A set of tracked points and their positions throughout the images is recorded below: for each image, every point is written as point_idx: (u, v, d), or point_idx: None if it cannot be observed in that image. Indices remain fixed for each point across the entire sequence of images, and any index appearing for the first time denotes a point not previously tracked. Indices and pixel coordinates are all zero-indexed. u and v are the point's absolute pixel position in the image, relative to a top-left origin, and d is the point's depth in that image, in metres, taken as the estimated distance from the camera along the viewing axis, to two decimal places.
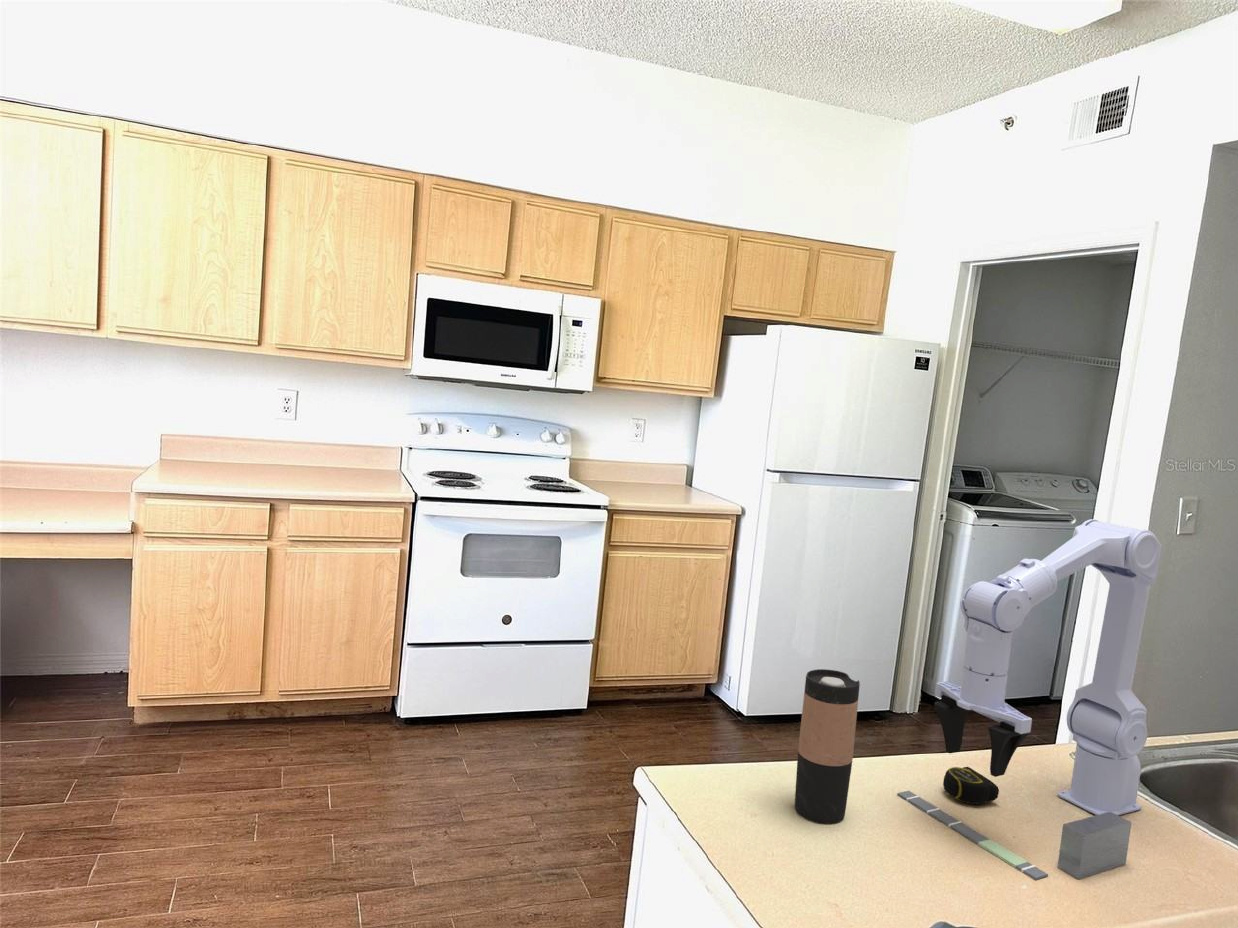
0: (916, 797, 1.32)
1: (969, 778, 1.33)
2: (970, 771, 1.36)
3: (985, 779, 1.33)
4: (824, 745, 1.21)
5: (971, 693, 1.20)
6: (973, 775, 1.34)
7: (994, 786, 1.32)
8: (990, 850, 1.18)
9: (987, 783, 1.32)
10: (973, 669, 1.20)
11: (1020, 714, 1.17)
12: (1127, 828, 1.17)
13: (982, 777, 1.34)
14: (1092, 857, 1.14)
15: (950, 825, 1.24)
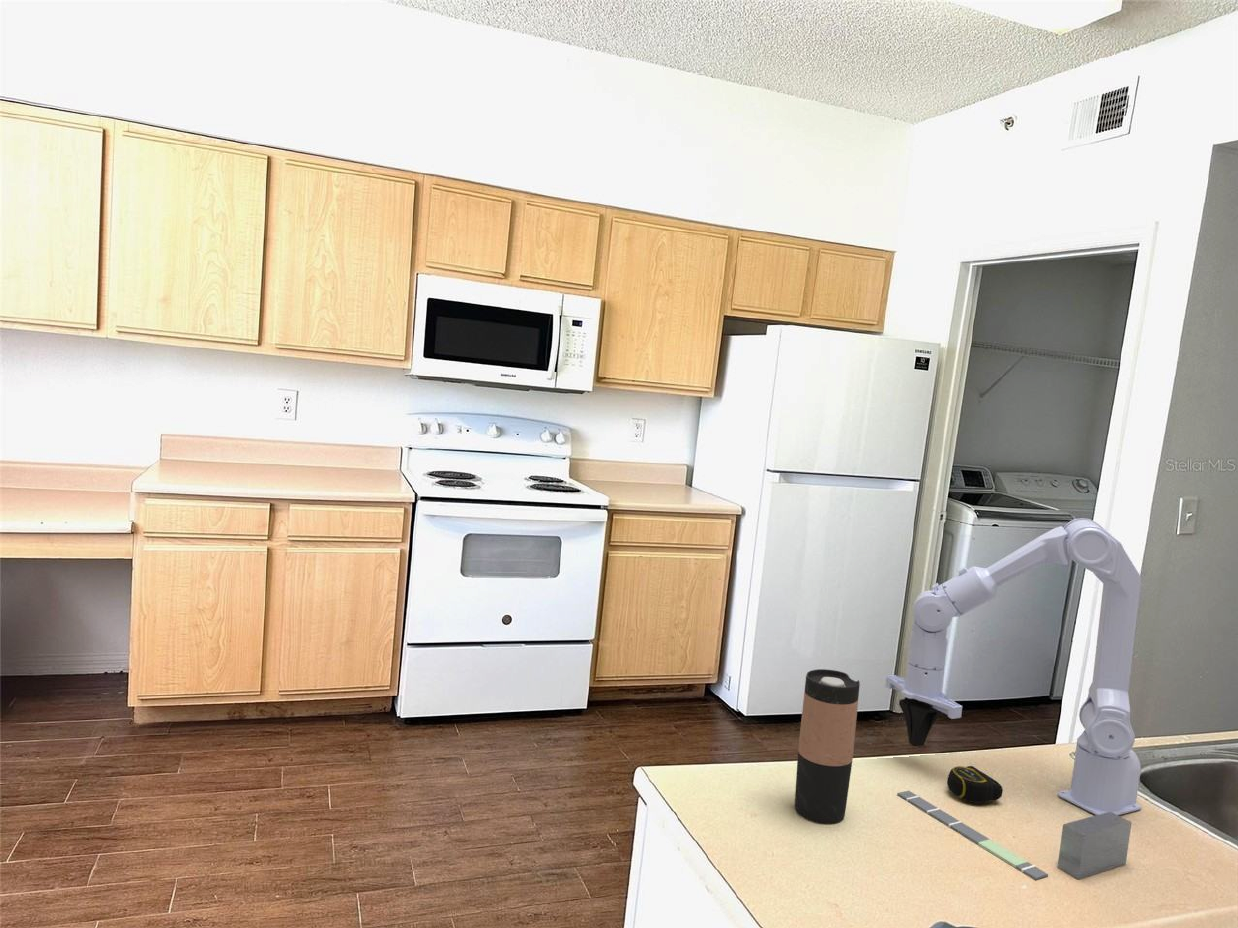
0: (916, 797, 1.32)
1: (972, 777, 1.33)
2: (974, 770, 1.36)
3: (989, 778, 1.33)
4: (824, 745, 1.21)
5: (913, 684, 1.41)
6: (977, 774, 1.35)
7: (998, 785, 1.32)
8: (990, 850, 1.18)
9: (991, 782, 1.32)
10: (908, 659, 1.43)
11: (953, 702, 1.39)
12: (1127, 828, 1.17)
13: (986, 776, 1.34)
14: (1092, 857, 1.14)
15: (950, 825, 1.24)
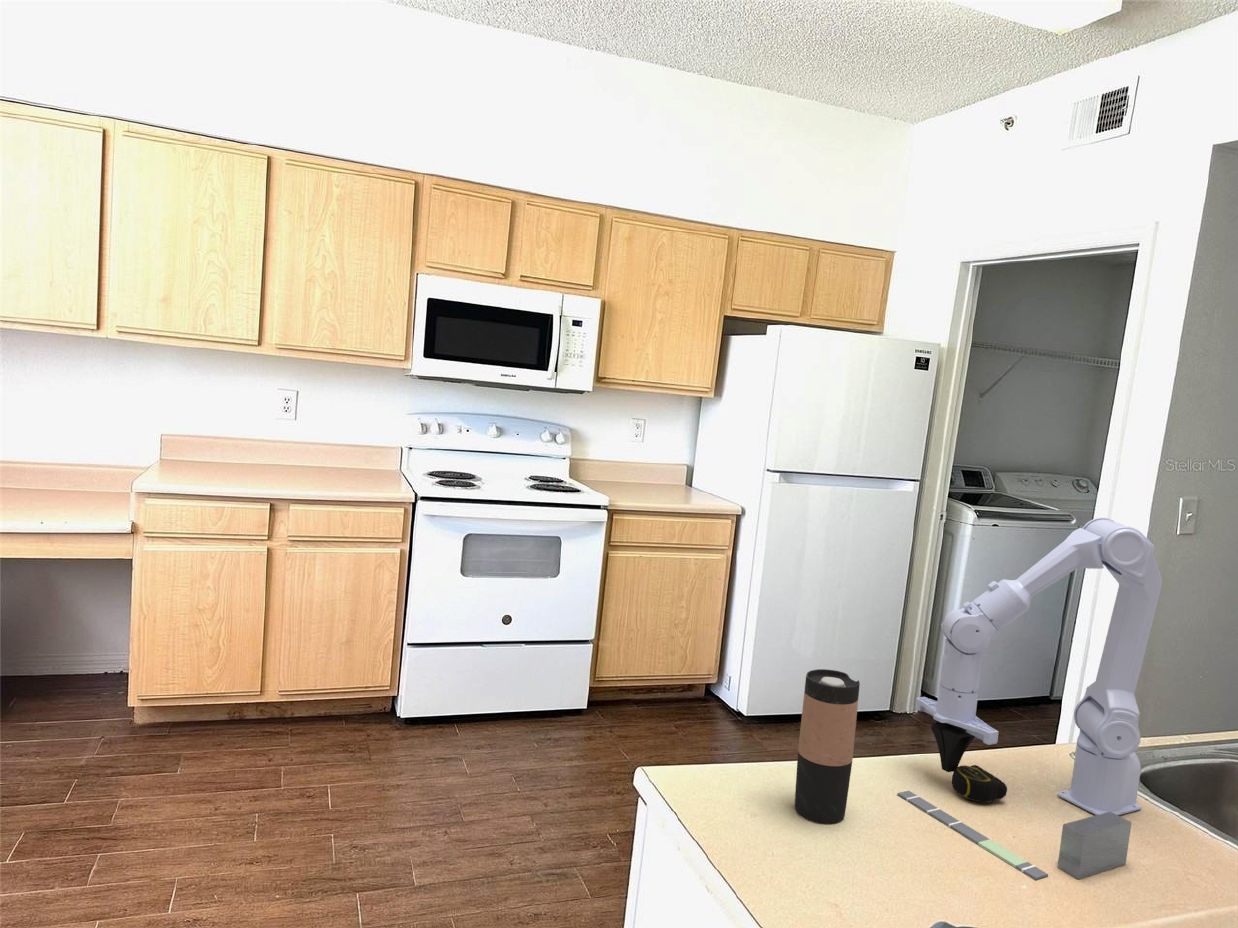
0: (916, 797, 1.32)
1: (977, 776, 1.34)
2: (978, 769, 1.36)
3: (993, 777, 1.34)
4: (824, 745, 1.21)
5: (946, 708, 1.35)
6: (981, 773, 1.35)
7: (1002, 784, 1.33)
8: (990, 850, 1.18)
9: (995, 781, 1.33)
10: (941, 683, 1.36)
11: (988, 727, 1.33)
12: (1127, 828, 1.17)
13: (990, 775, 1.34)
14: (1092, 857, 1.14)
15: (950, 825, 1.24)
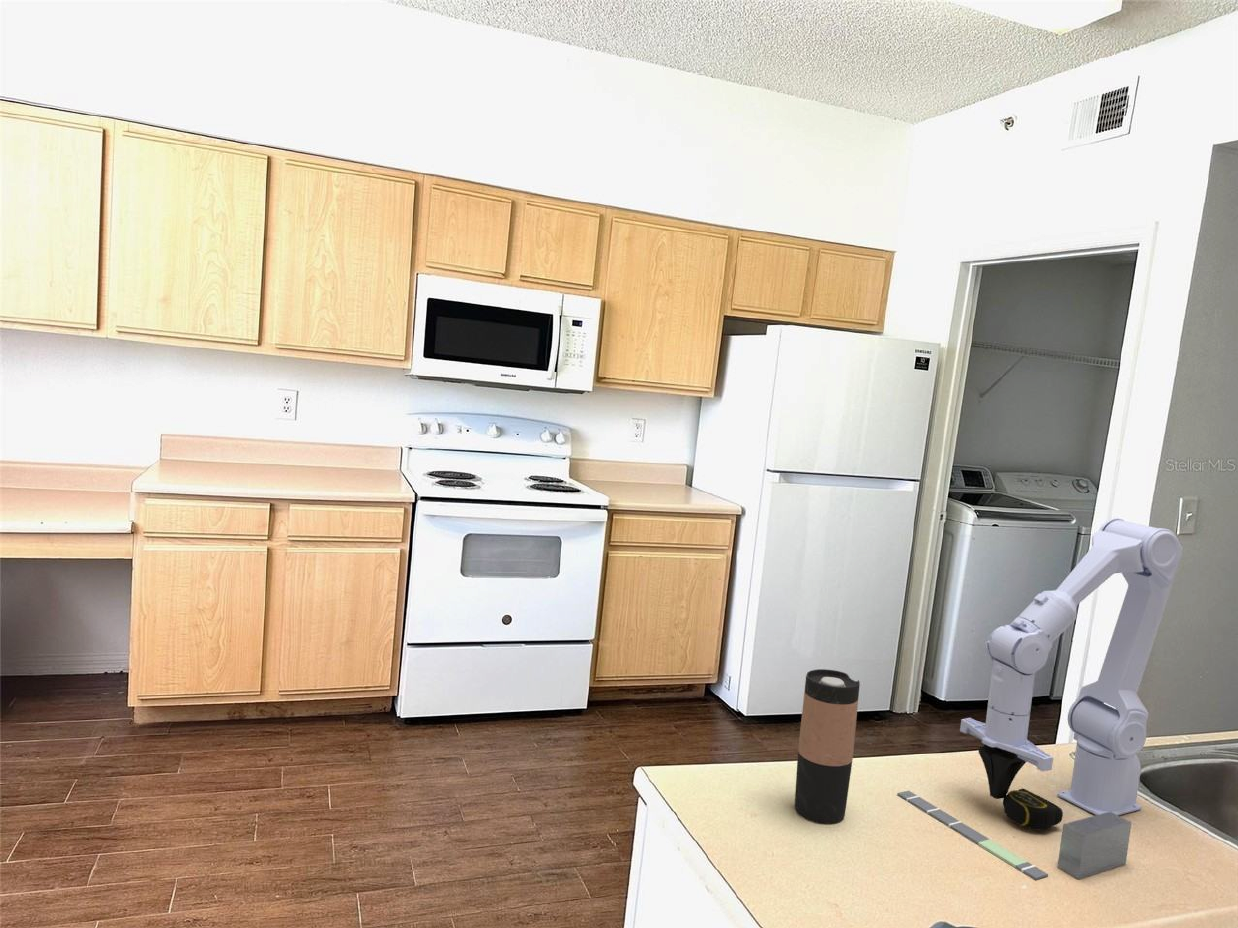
0: (916, 797, 1.32)
1: (1032, 802, 1.26)
2: (1029, 794, 1.29)
3: (1048, 802, 1.27)
4: (824, 745, 1.21)
5: (995, 731, 1.27)
6: (1034, 798, 1.27)
7: (1059, 809, 1.25)
8: (990, 850, 1.18)
9: (1052, 806, 1.25)
10: (995, 708, 1.27)
11: (1042, 752, 1.25)
12: (1127, 828, 1.17)
13: (1044, 800, 1.27)
14: (1092, 857, 1.14)
15: (950, 825, 1.24)
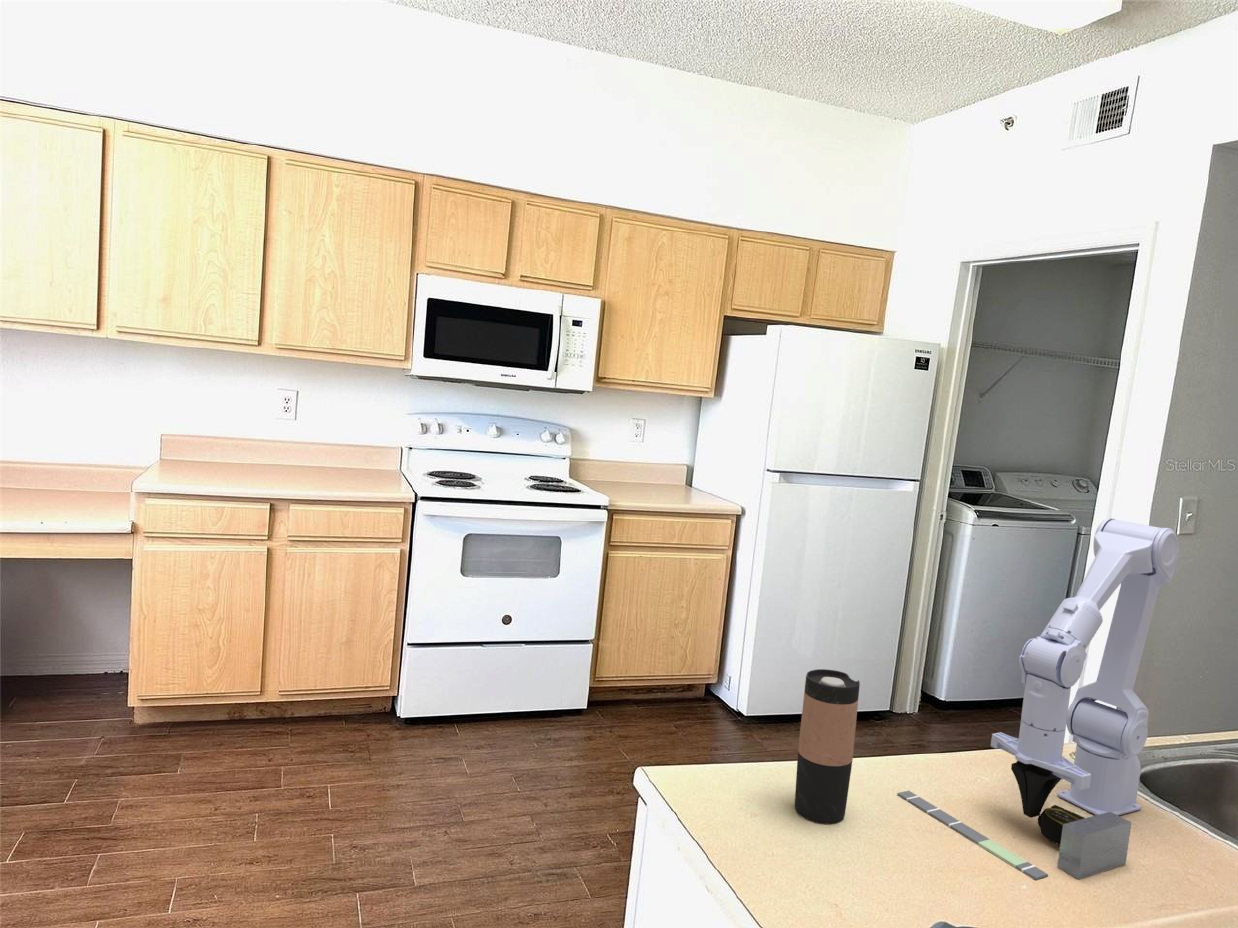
0: (916, 797, 1.32)
1: (1070, 820, 1.21)
2: (1063, 811, 1.24)
3: None
4: (824, 745, 1.21)
5: (1029, 747, 1.22)
6: (1070, 816, 1.23)
7: None
8: (990, 850, 1.18)
9: None
10: (1035, 725, 1.21)
11: (1079, 769, 1.20)
12: (1127, 828, 1.17)
13: (1080, 817, 1.23)
14: (1092, 857, 1.14)
15: (950, 825, 1.24)
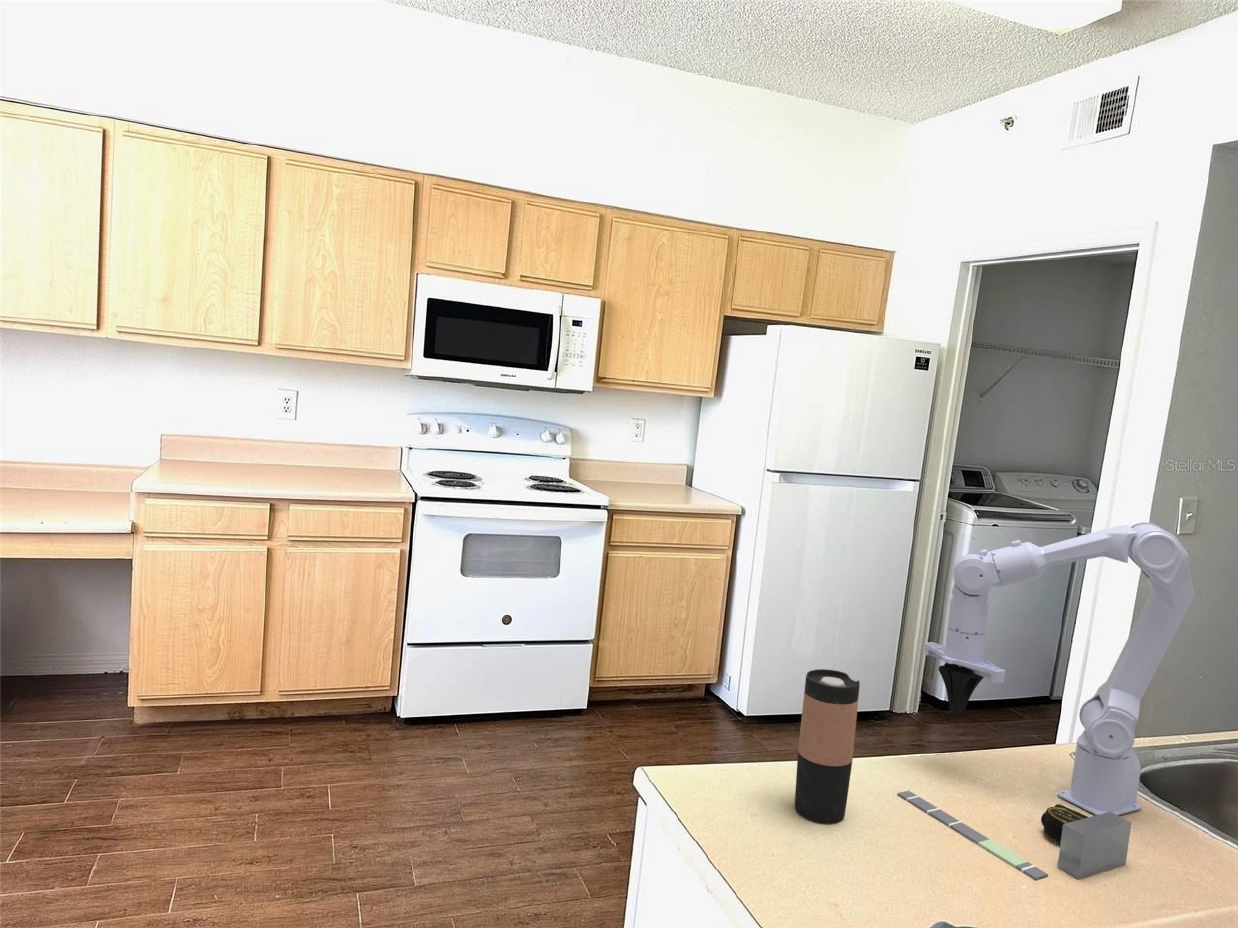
0: (916, 797, 1.32)
1: (1074, 819, 1.22)
2: (1067, 810, 1.25)
3: None
4: (824, 745, 1.21)
5: (953, 649, 1.39)
6: (1073, 815, 1.24)
7: None
8: (990, 850, 1.18)
9: None
10: None
11: (995, 667, 1.36)
12: (1127, 828, 1.17)
13: (1083, 816, 1.23)
14: (1092, 857, 1.14)
15: (950, 825, 1.24)
